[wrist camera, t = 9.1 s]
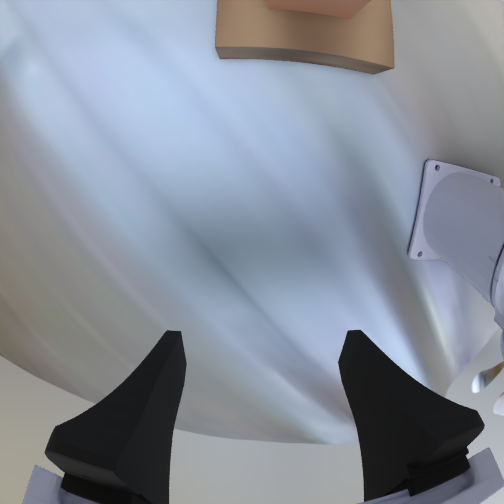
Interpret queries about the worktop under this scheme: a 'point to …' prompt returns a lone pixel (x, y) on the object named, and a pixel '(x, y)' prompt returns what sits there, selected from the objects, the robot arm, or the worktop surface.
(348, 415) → the worktop surface
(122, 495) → the robot arm
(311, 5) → the terracotta cube
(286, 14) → the walnut block
